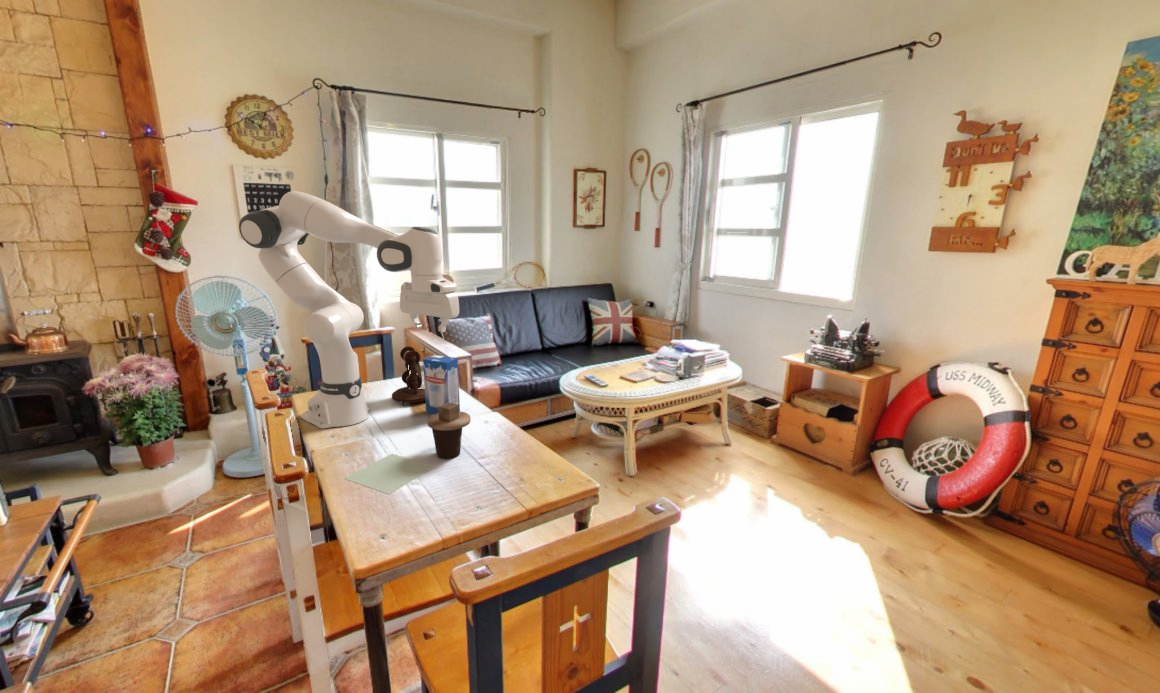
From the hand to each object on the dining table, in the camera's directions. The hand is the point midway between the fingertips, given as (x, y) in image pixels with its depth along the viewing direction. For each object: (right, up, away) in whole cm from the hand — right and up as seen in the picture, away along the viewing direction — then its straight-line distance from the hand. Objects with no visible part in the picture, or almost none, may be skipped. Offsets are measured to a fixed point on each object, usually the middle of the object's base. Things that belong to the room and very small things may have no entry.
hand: (430, 329), depth 146 cm
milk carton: (-3, -29, +26) cm, 39 cm away
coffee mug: (+7, -37, -4) cm, 38 cm away
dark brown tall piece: (-18, -25, +38) cm, 49 cm away
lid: (+8, -27, -6) cm, 29 cm away
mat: (-5, -39, -16) cm, 43 cm away
